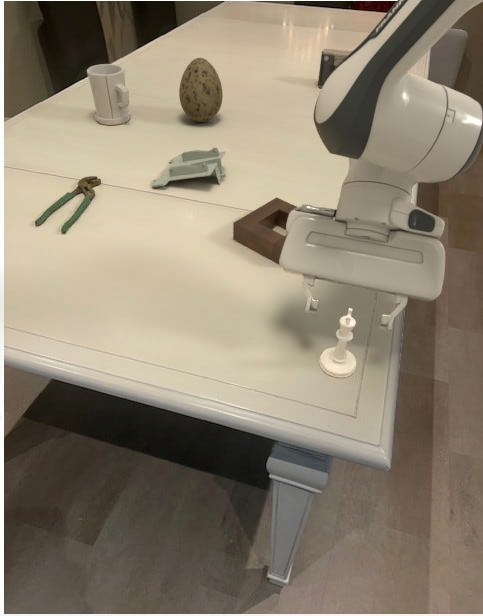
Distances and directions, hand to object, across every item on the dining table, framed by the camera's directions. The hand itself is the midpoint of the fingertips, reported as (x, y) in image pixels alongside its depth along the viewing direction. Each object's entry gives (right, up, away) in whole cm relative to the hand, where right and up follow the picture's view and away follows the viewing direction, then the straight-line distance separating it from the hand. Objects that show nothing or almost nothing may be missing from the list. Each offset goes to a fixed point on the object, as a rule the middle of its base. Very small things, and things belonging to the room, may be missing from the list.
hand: (346, 321), depth 61 cm
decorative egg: (-24, +50, +64) cm, 84 cm away
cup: (-46, +50, +63) cm, 93 cm away
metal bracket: (-24, +30, +42) cm, 56 cm away
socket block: (-6, +14, +25) cm, 30 cm away
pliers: (-45, +22, +32) cm, 60 cm away
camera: (+15, +68, +84) cm, 110 cm away
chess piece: (0, -6, +4) cm, 7 cm away
